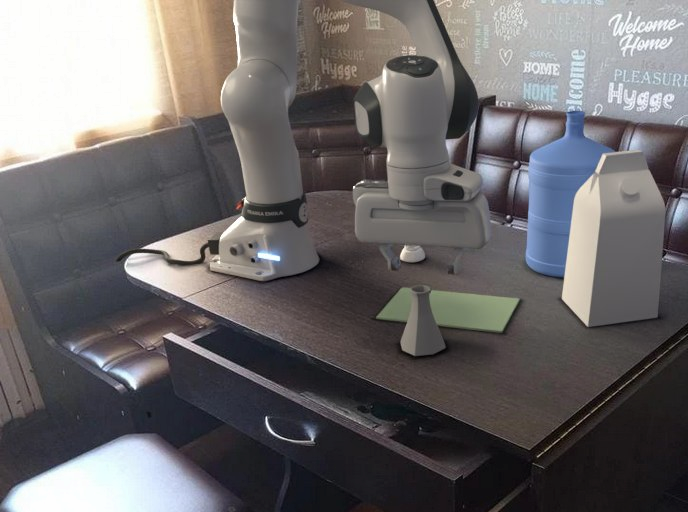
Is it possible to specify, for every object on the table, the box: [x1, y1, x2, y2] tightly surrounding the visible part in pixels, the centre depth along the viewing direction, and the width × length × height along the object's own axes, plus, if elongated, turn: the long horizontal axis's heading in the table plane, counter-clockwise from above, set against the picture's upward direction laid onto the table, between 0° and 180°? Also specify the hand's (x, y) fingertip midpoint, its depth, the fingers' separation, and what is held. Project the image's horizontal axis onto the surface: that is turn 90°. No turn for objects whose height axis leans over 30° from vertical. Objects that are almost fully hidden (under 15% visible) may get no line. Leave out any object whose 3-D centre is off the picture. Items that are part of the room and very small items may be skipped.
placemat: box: [375, 286, 521, 334], centre depth 134 cm, size 22×13×1 cm, turn 69°
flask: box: [399, 284, 447, 357], centre depth 120 cm, size 7×7×10 cm
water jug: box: [525, 110, 616, 279], centre depth 141 cm, size 16×16×28 cm
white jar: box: [399, 245, 426, 263], centre depth 154 cm, size 5×3×5 cm
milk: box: [561, 149, 666, 328], centre depth 124 cm, size 12×12×26 cm
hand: (424, 271), depth 116 cm, fingers open, 8 cm apart
